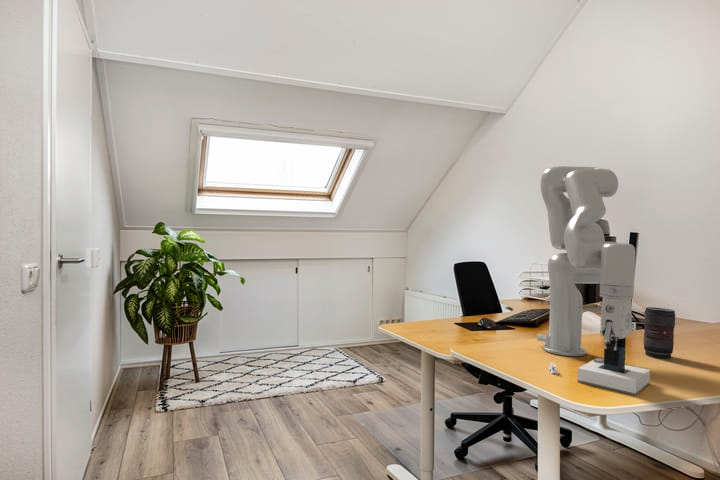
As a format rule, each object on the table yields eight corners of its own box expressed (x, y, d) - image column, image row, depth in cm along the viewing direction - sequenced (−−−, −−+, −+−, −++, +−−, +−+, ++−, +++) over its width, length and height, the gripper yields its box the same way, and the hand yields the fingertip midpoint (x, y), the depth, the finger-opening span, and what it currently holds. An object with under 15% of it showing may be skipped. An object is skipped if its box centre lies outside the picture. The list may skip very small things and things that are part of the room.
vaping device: (619, 381, 113) (621, 333, 113) (601, 374, 118) (602, 328, 117) (626, 379, 114) (628, 332, 114) (607, 373, 119) (609, 328, 119)
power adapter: (547, 372, 125) (547, 361, 124) (556, 372, 124) (556, 361, 124) (551, 376, 122) (551, 364, 121) (561, 376, 121) (561, 364, 121)
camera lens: (678, 360, 138) (680, 311, 138) (649, 358, 140) (651, 310, 140) (666, 353, 146) (668, 307, 146) (638, 351, 148) (640, 306, 148)
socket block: (577, 381, 116) (578, 366, 116) (594, 371, 125) (595, 357, 125) (635, 395, 107) (635, 378, 106) (649, 383, 116) (650, 367, 116)
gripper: (623, 296, 107) (620, 373, 107) (641, 290, 119) (639, 360, 119) (589, 292, 112) (586, 366, 113) (610, 287, 124) (608, 354, 124)
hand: (613, 362), depth 116 cm, fingers closed on vaping device, 3 cm apart
